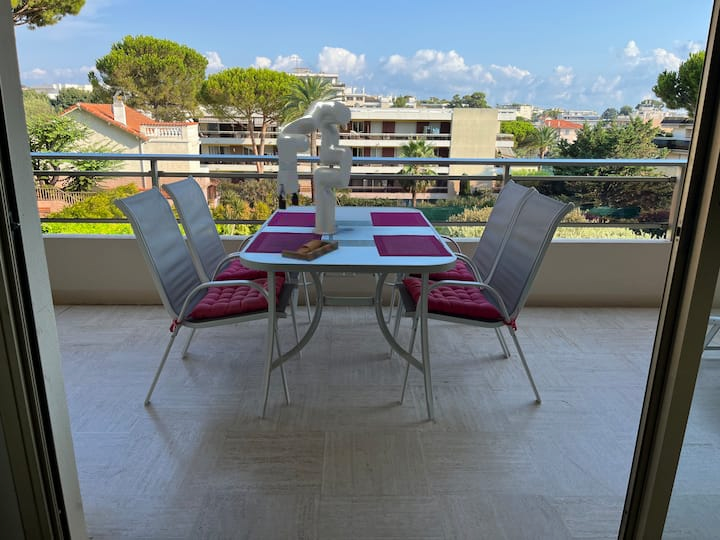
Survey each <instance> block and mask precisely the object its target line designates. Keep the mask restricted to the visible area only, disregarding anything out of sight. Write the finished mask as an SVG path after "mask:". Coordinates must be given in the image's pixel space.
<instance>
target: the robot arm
mask: <svg viewBox="0 0 720 540" xmlns="http://www.w3.org/2000/svg"><path fill="white" fill-rule="evenodd" d="M351 120H352V111H351V109H350V107H349V106H348V105H346V104H344V103H342V102H340V101H339V100H335V99H329V100H328V99H316V100H314V101H312V102H311V104H309V106H308V107H307V109H306V110H305V112H304V113H303V115H302V116H301V117H299V118H297V119H295V120H293V121H291V122H289V123H287V124H286V125H285V126H284V127H283V128H282V129H281V131H280V132H279V133H278V135H277V137H276V142H275V143H276V148H277V149H278V150H277V151H278V152H277V153H278V154H277V155H278V156H277V158H278V171H277V177H276V178H277V179H276V189H275V194H276V198H277V200H278V210H284V211H285V210H286V211H287V199H286V197H287V196H289V195H291V205H292V206H294V207H295V206H297V207H298V206H299V205H300V203H299V201H300V200H299V197H300V192H301V188H302V186H301V183H299V174H298V153H299V154H302V153H306V152H308V151H309V150H310V147H311V140H310V138H309V136H308V135H310V134H312V133H315V132H317V131H318V129H319V128H320V131H321V141H320V150H319V158H318V159H319V162H320V163H321V164H322V165H328V166H338V167H339V168H338V167H327V166H326V167H325V166H319V167H318V168H316V169H315V170H314V171H313V175H312V178H313V184H314V190H315V192H314V193H315V194H314V195H315V228H313V229H312V230H311V231H312V233H313V234H315V235H320V236H321V235H323V236H324V235H327V236H328V235H329V236H331V235H335V234H337V233H339V230H338V228H336V227H337V226H338V225H339V222H338V221H336V196H335V193H334V191H333V189H341V190H343V189H346V188H348V186H349V184H350V180H351V179H350V178H351V174H352V173H351V172H352V165H353V151H352V148H351V147H350V146H348V145H343V144H341V145H340V133H339V130H338V129H337V127H336V126H337V125H339V126H345V125H348V124H349V123H350V121H351Z"/></svg>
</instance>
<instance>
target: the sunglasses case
mask: <svg viewBox="0 0 720 540" xmlns="http://www.w3.org/2000/svg"><path fill="white" fill-rule="evenodd" d="M322 241H323V240H320V239H314V241H311V242H310V241H309V242H307V243H304V244H303V245H301V247H299V249H297V251H296V252H299V253H305V254H307V253H309V252H311V251H314V250H316V249H318V248H321V247H322V246H323V243H322Z"/></svg>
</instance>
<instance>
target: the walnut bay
mask: <svg viewBox="0 0 720 540" xmlns="http://www.w3.org/2000/svg"><path fill="white" fill-rule="evenodd" d="M314 240H315V238H312V239H310V240H309V242H311V241H314ZM321 241H322V243H323V246H322V247H321V248H318V249H316V250H314V251H311V252H309V253H307V254H305V253H299V252H297V251H293V250H292V251H290V250H286V249H283V250H281V258H288V259H293V260H299V261H304V260H306V261H305V262H311V260H312V261H314V260H315V259H319V258H321V257H323V256H324V255H327V254H329V253H331V252H333V251H335V250H338V249H339V241H335V240H334V241H326V240H321ZM313 259H314V260H313Z"/></svg>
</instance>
